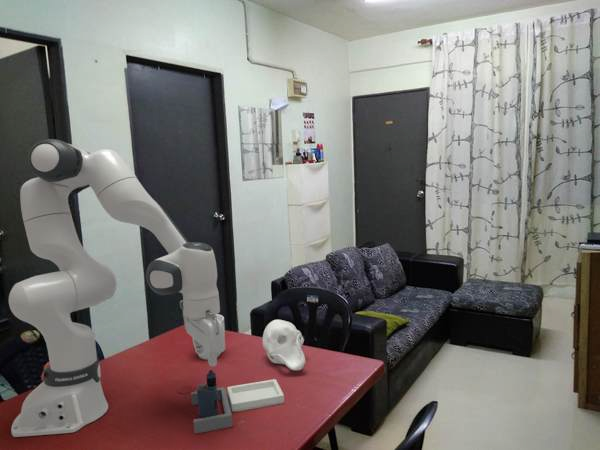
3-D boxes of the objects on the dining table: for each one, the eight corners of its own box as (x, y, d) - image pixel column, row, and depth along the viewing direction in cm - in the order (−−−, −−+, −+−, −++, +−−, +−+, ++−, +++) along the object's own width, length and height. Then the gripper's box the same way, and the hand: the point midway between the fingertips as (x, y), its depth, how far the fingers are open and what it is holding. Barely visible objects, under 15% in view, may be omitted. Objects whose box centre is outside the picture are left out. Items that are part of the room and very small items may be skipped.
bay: (194, 433, 111) (193, 422, 110) (191, 402, 125) (190, 392, 125) (232, 426, 113) (231, 415, 113) (225, 397, 128) (224, 386, 127)
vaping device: (216, 418, 117) (213, 373, 116) (197, 416, 118) (194, 372, 117) (220, 412, 120) (217, 369, 118) (201, 411, 121) (198, 368, 119)
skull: (322, 359, 140) (301, 342, 159) (300, 320, 138) (281, 308, 157) (287, 384, 137) (270, 364, 156) (263, 344, 135) (249, 329, 154)
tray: (232, 412, 120) (231, 404, 119) (227, 394, 129) (227, 386, 129) (284, 403, 123) (283, 395, 123) (276, 386, 133) (275, 379, 133)
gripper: (229, 313, 108) (233, 369, 110) (200, 295, 125) (204, 344, 127) (204, 319, 105) (208, 377, 106) (177, 300, 122) (182, 349, 124)
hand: (206, 359), depth 117 cm, fingers open, 8 cm apart
